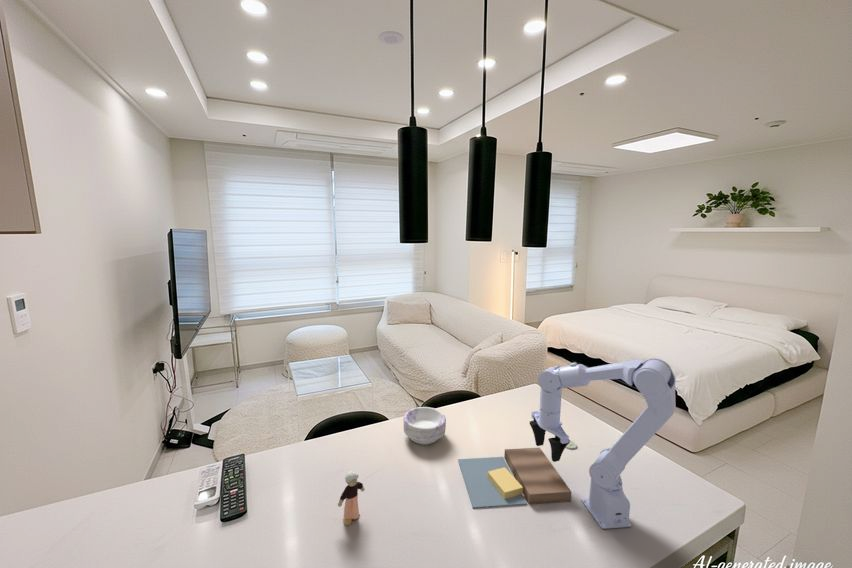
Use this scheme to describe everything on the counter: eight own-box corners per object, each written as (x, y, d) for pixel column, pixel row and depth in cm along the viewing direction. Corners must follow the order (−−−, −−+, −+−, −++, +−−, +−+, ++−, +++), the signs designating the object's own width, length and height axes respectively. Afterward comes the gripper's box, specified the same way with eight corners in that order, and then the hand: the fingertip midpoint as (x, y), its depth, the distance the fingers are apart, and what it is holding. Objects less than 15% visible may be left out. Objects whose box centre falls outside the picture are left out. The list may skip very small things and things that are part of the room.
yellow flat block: (522, 493, 96) (522, 487, 96) (504, 499, 94) (504, 492, 94) (504, 473, 104) (504, 467, 104) (487, 477, 102) (487, 471, 102)
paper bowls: (448, 449, 117) (448, 427, 116) (403, 450, 116) (403, 428, 114) (442, 425, 132) (443, 405, 131) (403, 426, 131) (403, 406, 130)
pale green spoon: (557, 424, 133) (579, 447, 118) (557, 426, 133) (579, 449, 118) (545, 425, 132) (565, 448, 117) (545, 427, 132) (565, 450, 117)
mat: (526, 504, 93) (527, 503, 93) (472, 508, 91) (472, 507, 91) (502, 457, 112) (502, 456, 112) (457, 460, 111) (458, 459, 111)
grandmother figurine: (347, 531, 83) (346, 483, 82) (336, 524, 85) (335, 477, 84) (368, 510, 90) (368, 466, 88) (357, 504, 92) (357, 460, 90)
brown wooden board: (570, 501, 94) (571, 491, 94) (528, 504, 93) (529, 494, 92) (539, 455, 114) (539, 447, 113) (504, 457, 112) (504, 449, 112)
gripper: (579, 419, 93) (576, 465, 95) (546, 396, 107) (543, 436, 109) (557, 423, 91) (554, 470, 93) (526, 399, 105) (524, 440, 107)
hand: (547, 452), depth 100 cm, fingers open, 7 cm apart
